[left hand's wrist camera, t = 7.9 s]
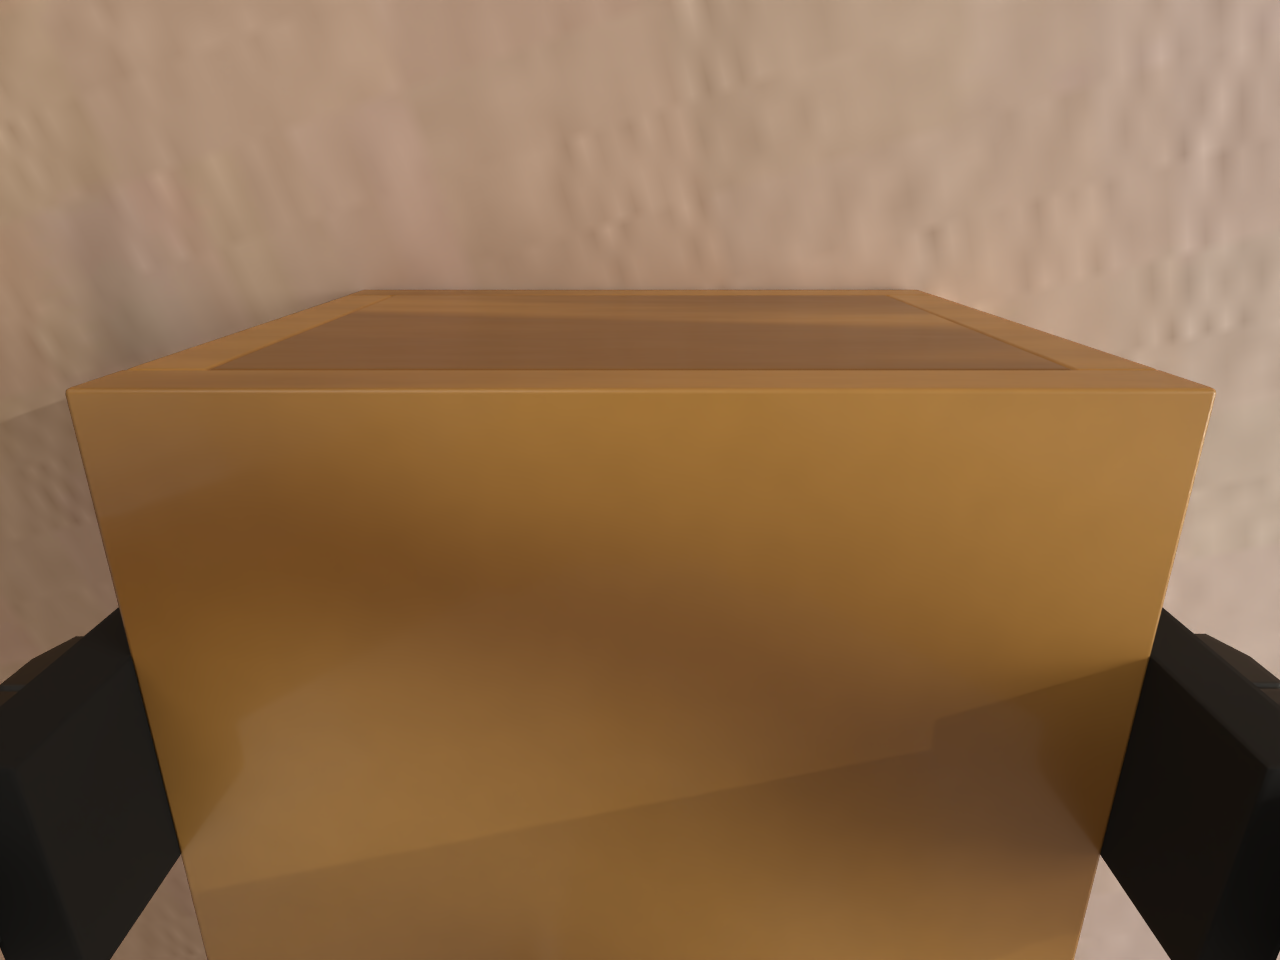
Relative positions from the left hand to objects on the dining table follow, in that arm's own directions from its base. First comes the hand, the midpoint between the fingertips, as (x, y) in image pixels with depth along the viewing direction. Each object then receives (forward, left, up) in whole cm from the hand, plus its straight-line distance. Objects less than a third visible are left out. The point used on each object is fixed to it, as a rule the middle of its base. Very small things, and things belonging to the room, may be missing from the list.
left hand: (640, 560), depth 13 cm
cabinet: (+7, +1, -3) cm, 8 cm away
